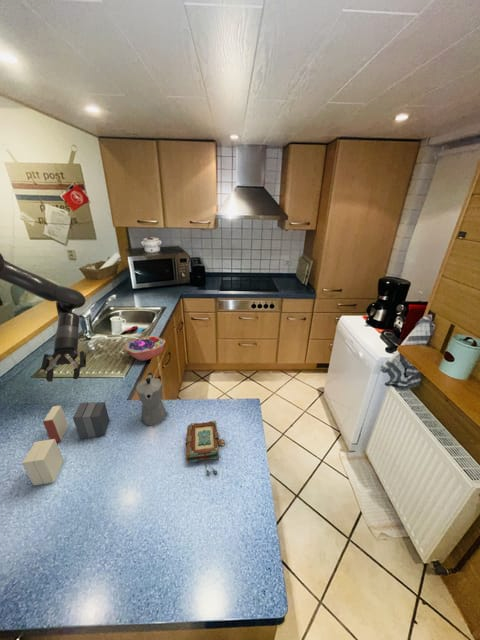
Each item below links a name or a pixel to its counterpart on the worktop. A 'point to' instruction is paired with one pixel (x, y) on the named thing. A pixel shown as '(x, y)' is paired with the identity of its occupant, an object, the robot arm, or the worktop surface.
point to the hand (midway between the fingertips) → (62, 380)
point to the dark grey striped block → (91, 419)
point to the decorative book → (202, 442)
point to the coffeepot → (151, 400)
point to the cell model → (145, 347)
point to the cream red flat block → (56, 423)
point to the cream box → (43, 462)
